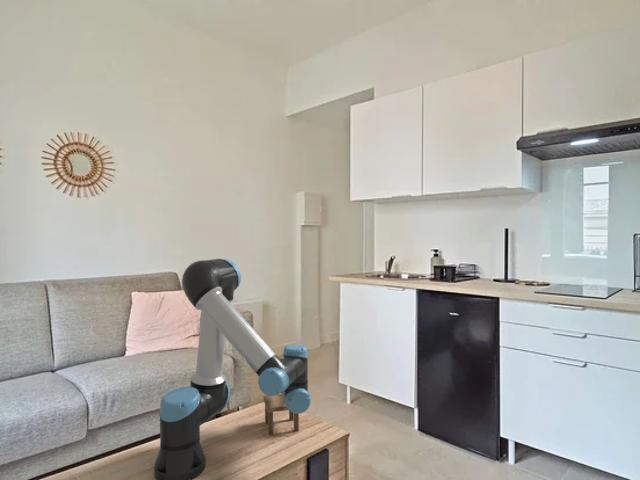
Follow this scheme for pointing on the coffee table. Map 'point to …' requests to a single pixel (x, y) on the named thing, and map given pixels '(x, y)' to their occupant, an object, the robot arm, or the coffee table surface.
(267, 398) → the stool
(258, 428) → the coffee table surface
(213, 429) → the coffee table surface
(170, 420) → the robot arm
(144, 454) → the coffee table surface
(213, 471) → the coffee table surface
